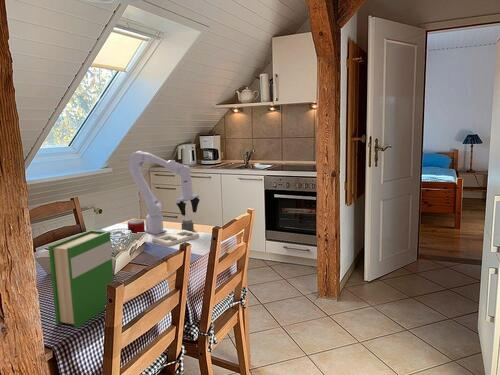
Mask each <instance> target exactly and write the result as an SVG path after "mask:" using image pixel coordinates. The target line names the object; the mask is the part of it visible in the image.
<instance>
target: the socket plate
mask: <svg viewBox="0 0 500 375" xmlns="http://www.w3.org/2000/svg"><path fill="white" fill-rule="evenodd" d="M199 237H200V233H199V232H194V231H187V230H182V229H181V230H178V231H173V232H170V233H167V234H163V235H160V236H156V237H153V238H151V239H152V240H151V241H152V242H153V243H157V244H159V245H163V246H167V247H169V246H172V245H176V244H179V243H183V242H186V241H189V239H190V240H193V239H196V238H199ZM185 240H186V241H185Z"/></svg>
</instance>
